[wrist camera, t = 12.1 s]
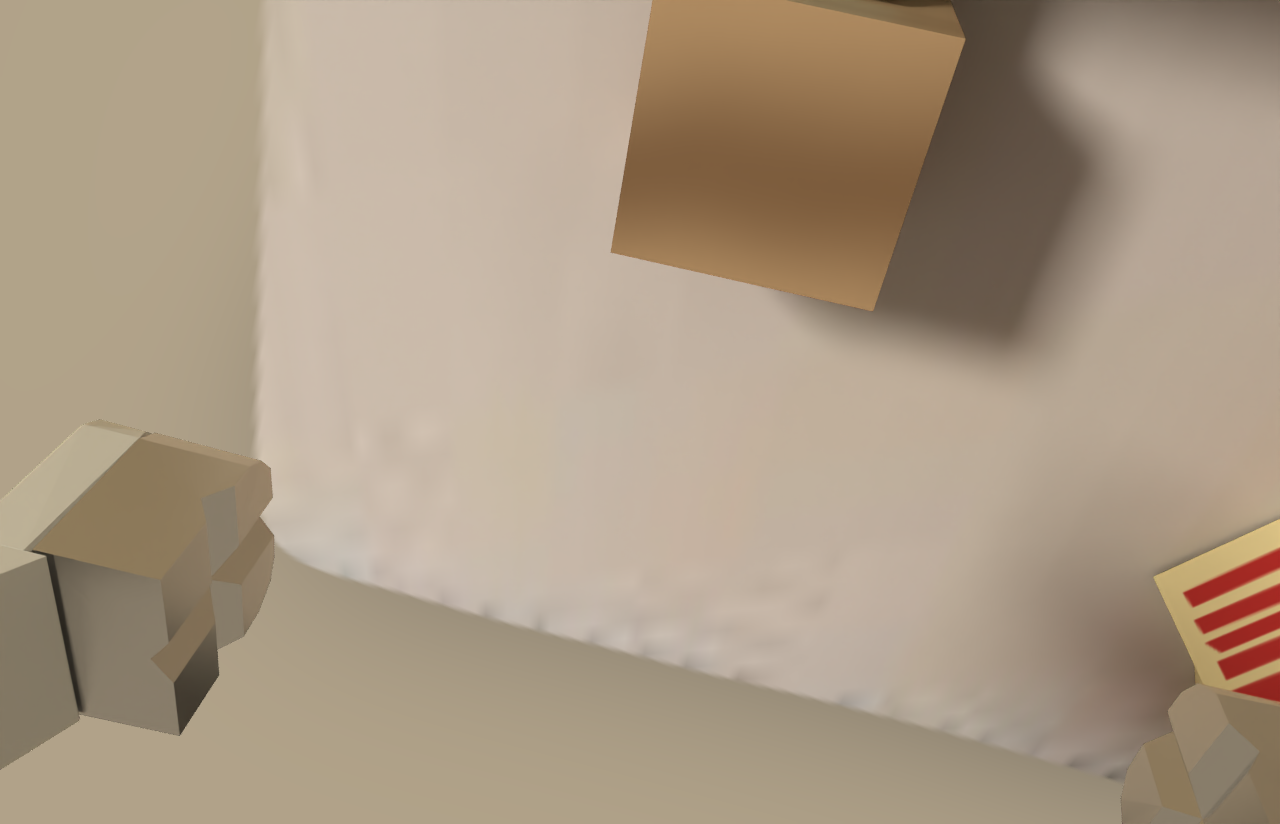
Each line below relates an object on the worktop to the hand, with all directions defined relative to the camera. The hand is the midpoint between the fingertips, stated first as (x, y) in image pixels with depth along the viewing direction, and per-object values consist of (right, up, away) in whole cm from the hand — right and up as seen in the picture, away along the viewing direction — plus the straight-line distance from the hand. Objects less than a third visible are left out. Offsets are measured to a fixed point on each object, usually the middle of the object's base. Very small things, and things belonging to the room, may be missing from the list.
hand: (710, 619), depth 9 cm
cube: (+2, +9, +13) cm, 16 cm away
